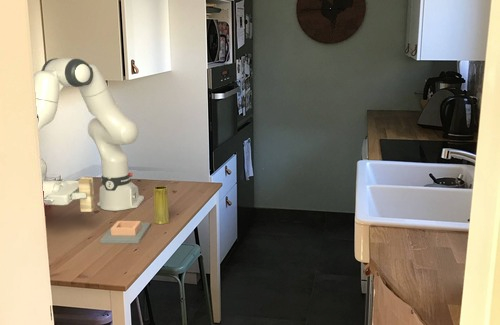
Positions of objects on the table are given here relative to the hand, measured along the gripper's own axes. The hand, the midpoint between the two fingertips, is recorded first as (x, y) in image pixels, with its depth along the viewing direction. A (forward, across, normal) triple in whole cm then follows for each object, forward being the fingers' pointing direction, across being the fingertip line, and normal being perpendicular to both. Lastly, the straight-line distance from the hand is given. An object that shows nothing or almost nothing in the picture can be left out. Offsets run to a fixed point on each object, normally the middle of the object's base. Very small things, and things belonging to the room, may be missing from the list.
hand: (89, 193), depth 207 cm
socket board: (+13, 0, +16) cm, 21 cm away
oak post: (-1, 0, +6) cm, 7 cm away
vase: (+24, +14, +16) cm, 32 cm away
